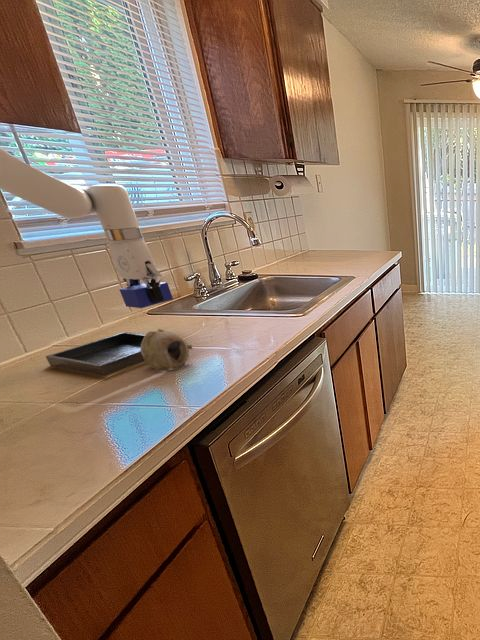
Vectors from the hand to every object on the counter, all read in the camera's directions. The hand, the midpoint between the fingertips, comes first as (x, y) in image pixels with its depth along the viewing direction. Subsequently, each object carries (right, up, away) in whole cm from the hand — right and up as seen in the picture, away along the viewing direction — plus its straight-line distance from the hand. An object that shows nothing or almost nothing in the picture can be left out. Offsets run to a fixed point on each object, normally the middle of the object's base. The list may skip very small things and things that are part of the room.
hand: (149, 300), depth 113 cm
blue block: (0, -1, 0) cm, 1 cm away
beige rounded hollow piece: (+19, -19, -16) cm, 31 cm away
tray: (+2, -17, -12) cm, 20 cm away
